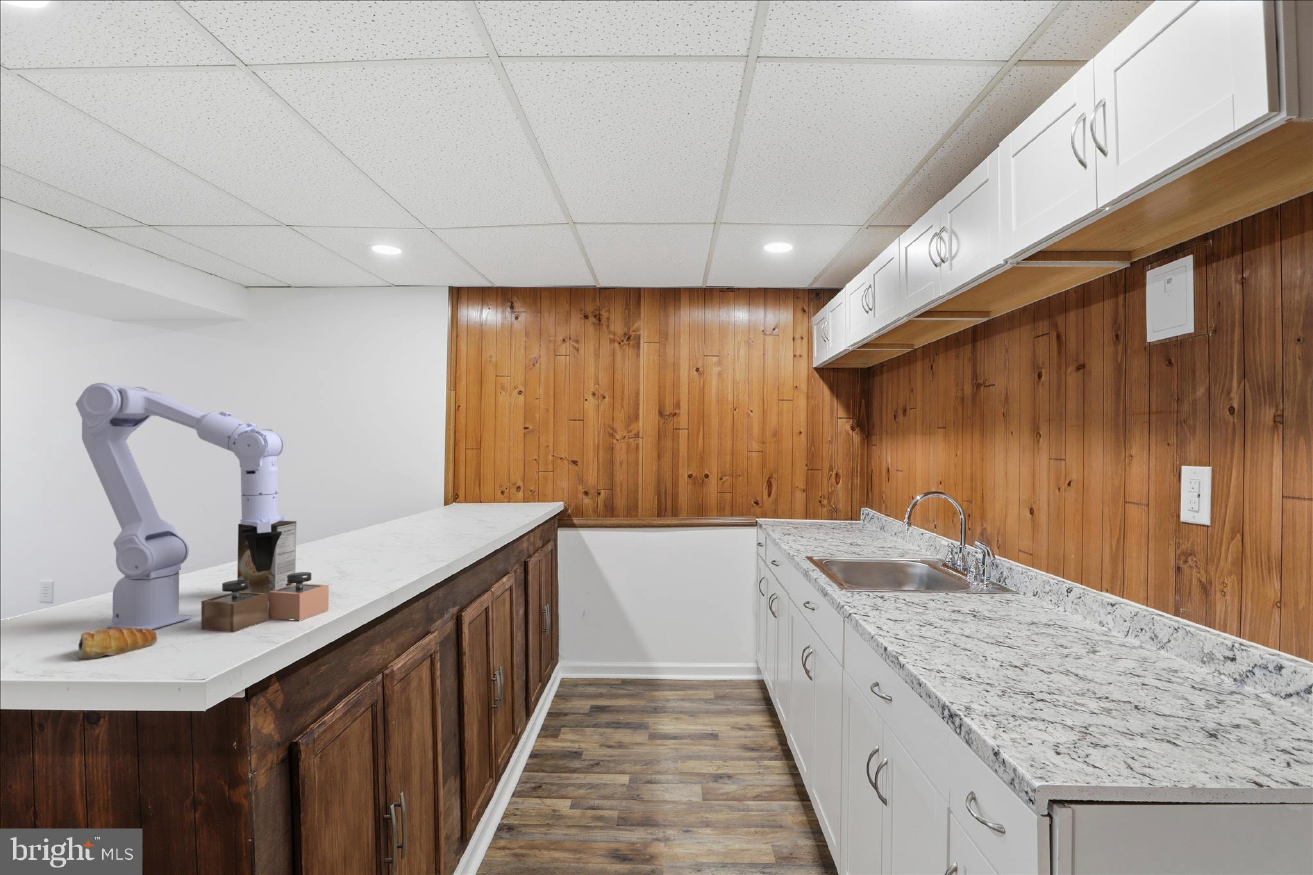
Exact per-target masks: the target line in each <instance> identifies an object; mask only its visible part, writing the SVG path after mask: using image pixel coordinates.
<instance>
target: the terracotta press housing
mask: <svg viewBox="0 0 1313 875" xmlns="http://www.w3.org/2000/svg"><path fill="white" fill-rule="evenodd" d="M303 585H306V586H320V587H317V588H314V589H311V590H308V591H304V592H301V593H294V592H280V590H284V589H287V588H291V587H294V586H296V583H295V584H294V585H290V586H287V587H283V588H280V589H277V590H273V591H270V592H269V600H268V619H271V620H281V619H294V620H301V621H303V620H302V619H304V620H306V618H307V617H309V618H312V617H314V616H313V615H315V616H317V615H319V614H318V613H320V614H323V613H325V612H324V611H326V612H328V611H329V604H330V603H329V598H330V597H329V591H330V590H329V589H330V588H329V587H330V585H329V584H318V583H316V584H315V583H306V582H303ZM322 612H323V613H322ZM311 616H312V617H311ZM307 619H308V618H307Z"/></svg>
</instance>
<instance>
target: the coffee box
mask: <svg viewBox="0 0 1313 875" xmlns="http://www.w3.org/2000/svg"><path fill="white" fill-rule="evenodd" d="M237 525H238V526H237V528H238V529H237V571H236V572H237V574H236V576H237V579H236V580H249V588H248V589H245V590H241V591H242V592H255V593H268V600H269V592H270V591H273V590H277V589H280V588H283V587H287V586H290V585H294V584H296V583H288V582H287V575H289V574H292V573H296V567H297V566H296V565H297V564H296V562H297V561H296V560H297V559H296V557H297V554H296V552H297V549H296V548H297V521H296V520H280V521H278V522H276V523H273V524H271V525H276V526H277V528H276V530H275V532H277V531H281V532H282V534H281V536H280V538H279V540H278V542H277V545H276V547H275V551H274V557H273V562H272V567H271V570H269V571H261V572H257V571H256V568H255V565H253V562H252V559H251V555H250V550H249V546H248V543H247V540H246V538H245V537H244V534H243V533H242V531H241V529H244V528H252V525H243V524H241V523H238V524H237Z"/></svg>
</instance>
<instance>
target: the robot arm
mask: <svg viewBox="0 0 1313 875" xmlns="http://www.w3.org/2000/svg"><path fill="white" fill-rule="evenodd" d="M75 406H76V408H77V411H78V413H79V415H80V417H81V439H82V440H81V441H82V442H83V445H84V448H85V449H86V452H87V454H88V456H89V459H90V461H91V463H92V465H93V469H94V470H95V472H96V475H97V477H98V479H99V482H100V484H101V486H102V488H103V490H104V493H105V495H106V497H107V499H108V501H109V504H110V506H111V508H112V510H113V513H114V515H115V517H116V520H117V522H118V524H119V527H120V529H121V531H120V532H119V534H118V535H117V537H116V538H115V539H114V540H113V544H112V545H113V546H114V548H115V552H116V553H115V554H116V555H115V556H116V557H115V564H116V567H117V570H118V571H119V572H120V573H121V574H122V575H124V576H123V577H122V578H120V579H119V580H117V582H116V583H115V585H114V587H113V590H112V622H111V623H107V625H106V628H113V627H116V628H135V629H138V630H140V629H144V628H145V629H150V630H153V631H154V630H156V629H159V628H162V627H165V626H169V625H173V624H175V623H179V622H183V621H186V620H190V619H191V618H192V615H191V614H190V615H188V614H179V613H180V570H182V564H184V562H185V561H186V560H187V559H188V557H189V555H190V554H189V553H190V547H189V544H188V542H187V540H186V539H185V538H184V537H183V536H181V535H180V534H179V533H178V532H177V529H176V527H175V526H174V525H173V524H171V523H170V522H168V521H165V520H164V519H162V518H161V517H160V515H159V512H158V510H157V508H156V505H155V503H154V501H153V499H152V497H151V494H150V492H149V490H148V487H147V486H146V483H145V481H144V479H143V476H142V475H141V472H140V469H139V468H138V467H139V466H137V462H136V461H135V458H134V456H133V453H132V452H131V449H130V446H129V444H128V442H127V440H128V439H129V438H130V436H131V434H132V433H134V432H135V431H136V430H138V428H139V427H141V425H143V424H144V423H145V422H146V421H148V420H149V419H150V418H152V416H154V417H155V416H156V417H160V418H162V419H165V420H168V421H170V422H174V423H176V424H179V425H182V426H185V427H187V428H191V429H193V430H195V431H196V434H197V436H198V438H199V439H200V440H201V441H204V442H208V443H210V444H211V445H212V444H213V445H214V446H217V447H219V448H222V449H224V450H227V451H230V452H232V453H233V454H234V455H235V457H236V458H237V460H238V461H239V468H240V494H241V496H240V497H241V498H240V500H241V519H240V524H243V525H252V528H244V529H241V531H242V533H243V534H244V537H245V538H246V540H247V543H248V546H249V550H250V555H251V559H252V562H253V565H255V568H256V571H257V572H261V571H269V570H271V567H272V562H273V557H274V551H275V547H276V545H277V542H278V540H279V538H280V536H281V534H282V532H281V531H277V532H275V530H276V528H277V526H276V525H271V524H273V523H276V522H278V521H287V515H280V512H279V511H280V510H279V509H280V507H279V503H280V502H279V468H278V467H279V466H278V464H279V463H278V457H279V456H280V455H281V454H282V452H283V450H284V440H283V438H282V437H281V435H280V434H279V433H278V432H276V431H274V430H273V429H271V428H263V429H258V428H257V423H254V422H245V421H242V420H240V419H237V418H235V417H233V413H231V412H229V411H227V410H221V411H211V412H208V413H205V412H204V411H203V412H202V411H200V410H198V409H196V408H194V407H191V406H190V405H187V404H186V403H183V402H180V401H179V400H176V399H174V398H172V397H170V396H168V395H165V394H163V393H161V392H159V391H156V390H149V389H148V388H146V387H141V386H126V385H116V384H110V383H106V382H95V383H91V384H90V385H88V386H87V387H86V388H85V389H84V390H83V392H82V393H81V395H80V396H79V397H78V399H77V401H76V402H75Z"/></svg>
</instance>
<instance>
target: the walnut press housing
mask: <svg viewBox="0 0 1313 875" xmlns="http://www.w3.org/2000/svg"><path fill="white" fill-rule="evenodd" d="M240 594H252V595H258V596H254V597H251V598H247V599H244V600H240V601H237V602H224V601H212V600H215V599H219V598H222V597H226V596H230V595H232V592H228V593H227V594H226V593H225V594H223V595H219V596H215V597H212V598H208V599H205V600H201V605H200V606H201V608H200V609H201V617H200V619H201V621H200V624H201V625H200V626H201V628H200V629H201V630H206V631H217V632H227V633H236V632H239V631H241V629H242V630H244V628H245V629H247V628H250V627H252V626H255V624H256V625H259V624H262V623H265V622H267V620H268V621H269V618H268V593H255V592H242V591H240ZM261 622H262V623H261ZM249 626H250V627H249Z"/></svg>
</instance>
